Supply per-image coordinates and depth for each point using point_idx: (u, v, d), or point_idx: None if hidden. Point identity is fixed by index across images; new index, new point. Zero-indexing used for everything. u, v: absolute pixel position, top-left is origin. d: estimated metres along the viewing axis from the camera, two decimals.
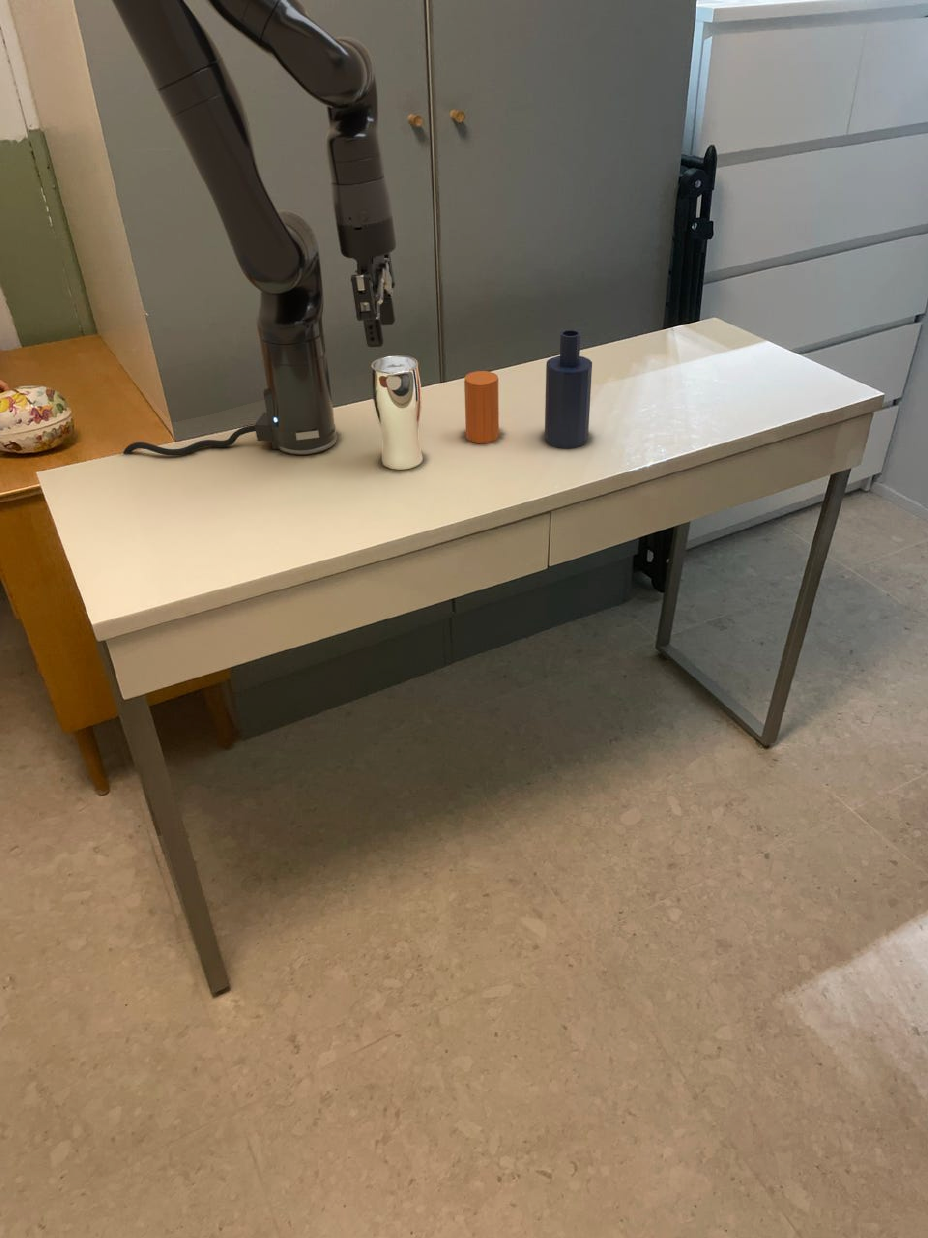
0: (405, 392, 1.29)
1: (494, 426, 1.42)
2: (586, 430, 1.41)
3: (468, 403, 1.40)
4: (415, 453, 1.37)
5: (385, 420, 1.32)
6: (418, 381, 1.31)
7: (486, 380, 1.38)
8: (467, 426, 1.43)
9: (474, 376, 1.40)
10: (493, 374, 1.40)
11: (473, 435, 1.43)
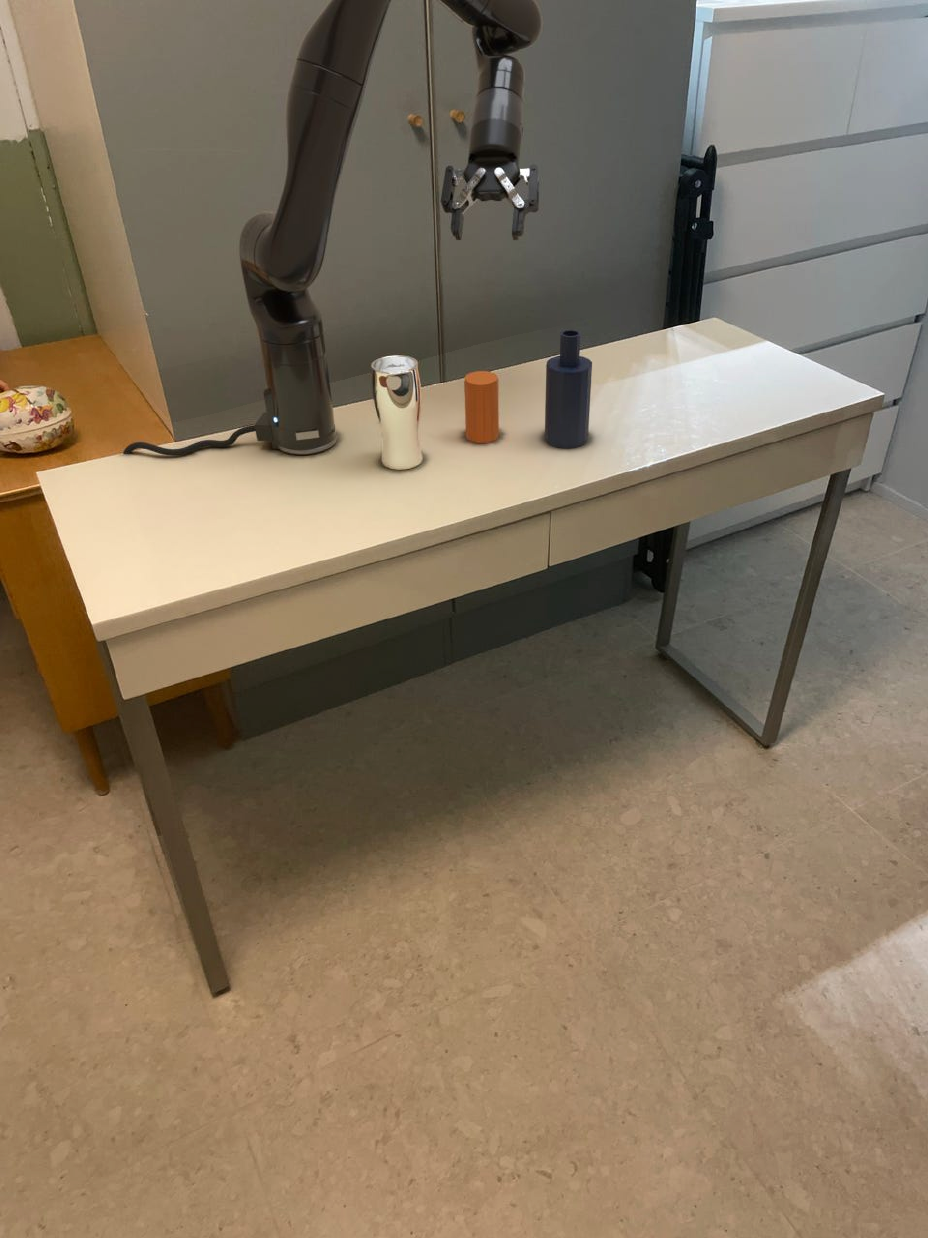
0: (405, 392, 1.29)
1: (494, 426, 1.42)
2: (586, 430, 1.41)
3: (468, 403, 1.40)
4: (415, 453, 1.37)
5: (385, 420, 1.32)
6: (418, 381, 1.31)
7: (486, 380, 1.38)
8: (467, 426, 1.43)
9: (474, 376, 1.40)
10: (493, 374, 1.40)
11: (473, 435, 1.43)
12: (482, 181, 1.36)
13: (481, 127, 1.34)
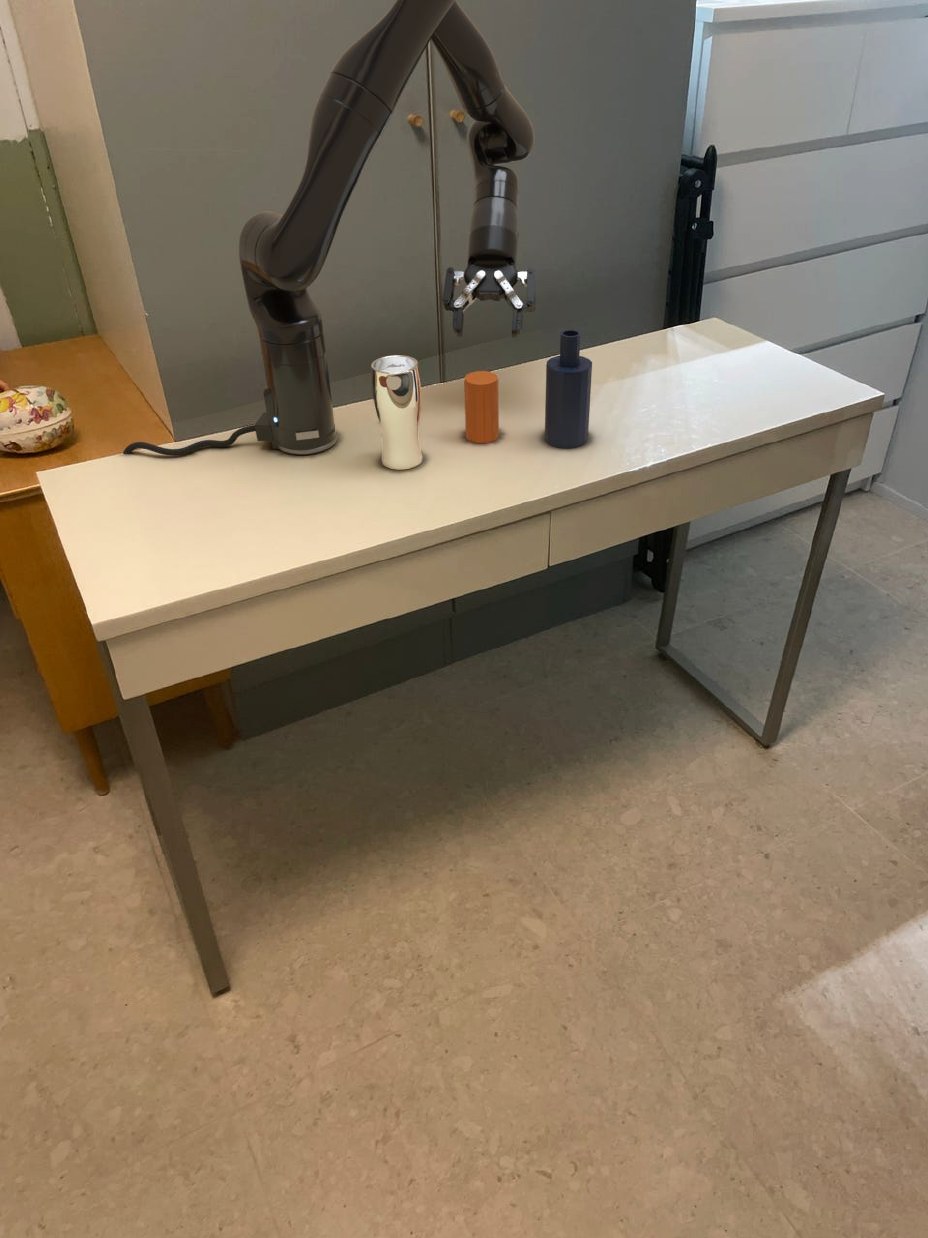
0: (405, 392, 1.29)
1: (494, 426, 1.42)
2: (586, 430, 1.41)
3: (468, 403, 1.40)
4: (415, 453, 1.37)
5: (385, 420, 1.32)
6: (418, 381, 1.31)
7: (486, 380, 1.38)
8: (467, 426, 1.43)
9: (474, 376, 1.40)
10: (493, 374, 1.40)
11: (473, 435, 1.43)
12: (482, 283, 1.44)
13: (481, 233, 1.42)
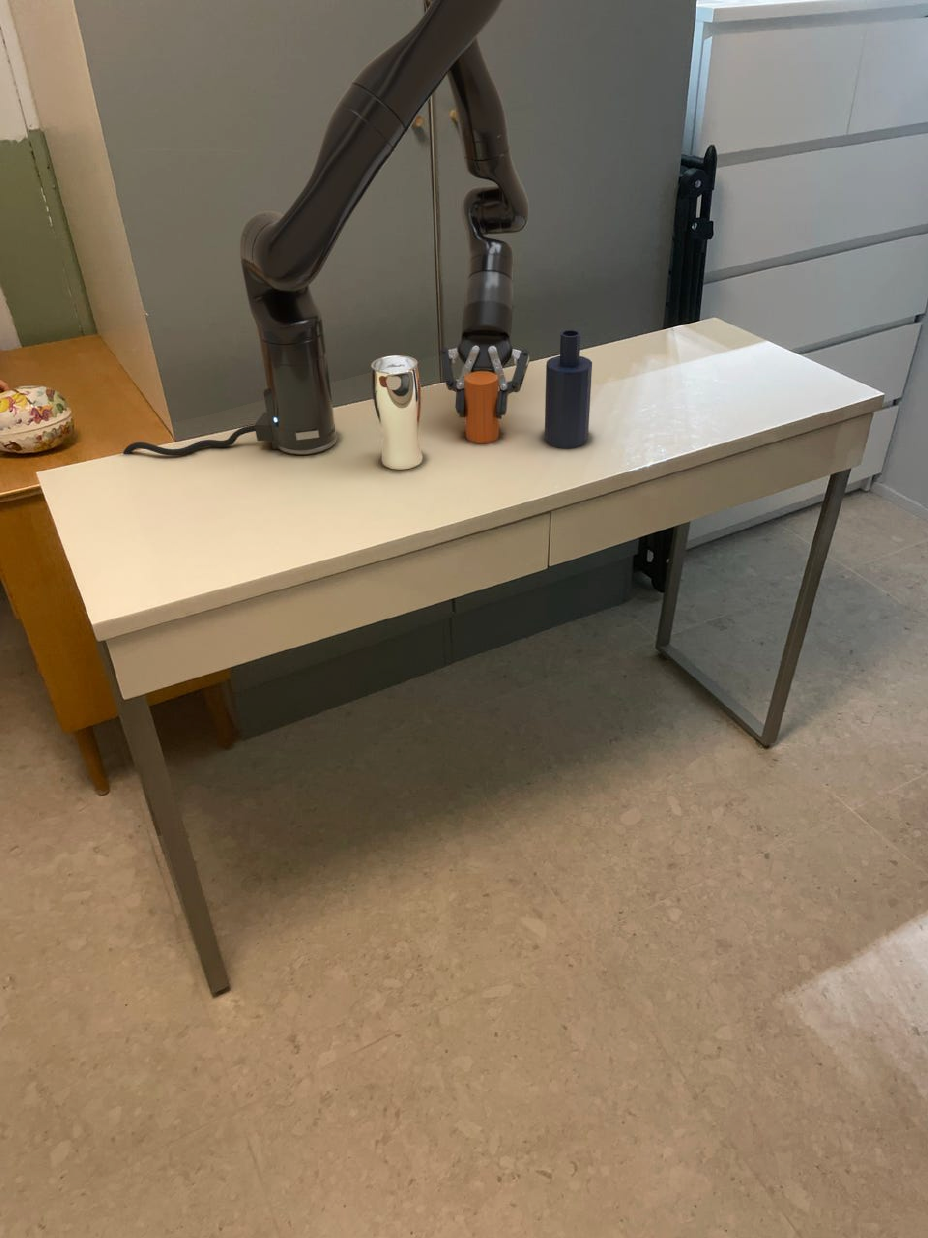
0: (405, 392, 1.29)
1: (494, 426, 1.42)
2: (586, 430, 1.41)
3: (468, 403, 1.40)
4: (415, 453, 1.37)
5: (385, 420, 1.32)
6: (418, 381, 1.31)
7: (486, 380, 1.38)
8: (467, 426, 1.43)
9: (474, 376, 1.40)
10: (493, 374, 1.40)
11: (473, 435, 1.43)
12: (476, 358, 1.41)
13: (475, 308, 1.40)
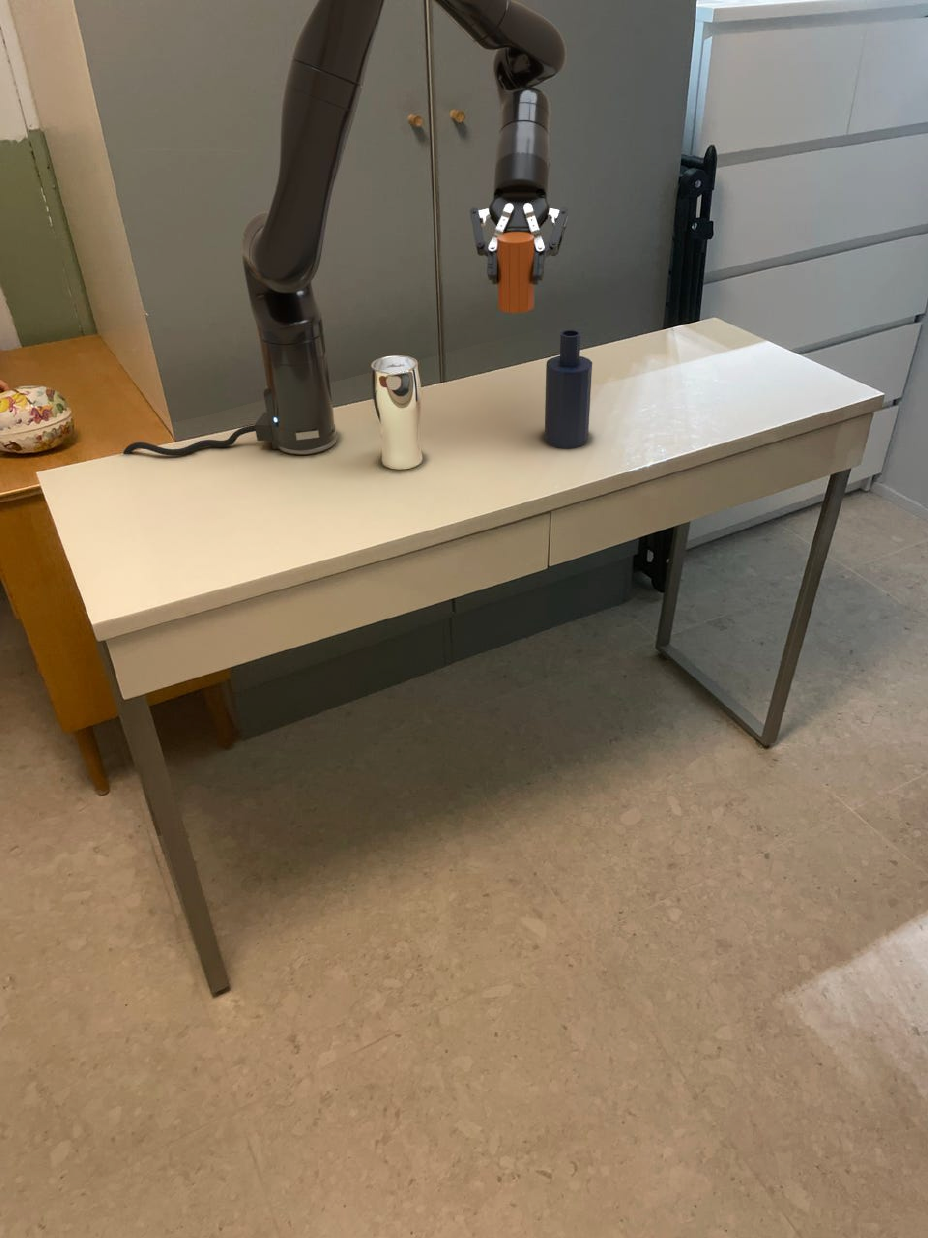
0: (405, 392, 1.29)
1: (529, 293, 1.29)
2: (586, 430, 1.41)
3: (501, 266, 1.27)
4: (415, 453, 1.37)
5: (385, 420, 1.32)
6: (418, 381, 1.31)
7: (521, 239, 1.25)
8: (500, 294, 1.30)
9: (508, 236, 1.27)
10: (529, 234, 1.27)
11: (506, 304, 1.30)
12: (510, 218, 1.28)
13: (509, 161, 1.27)
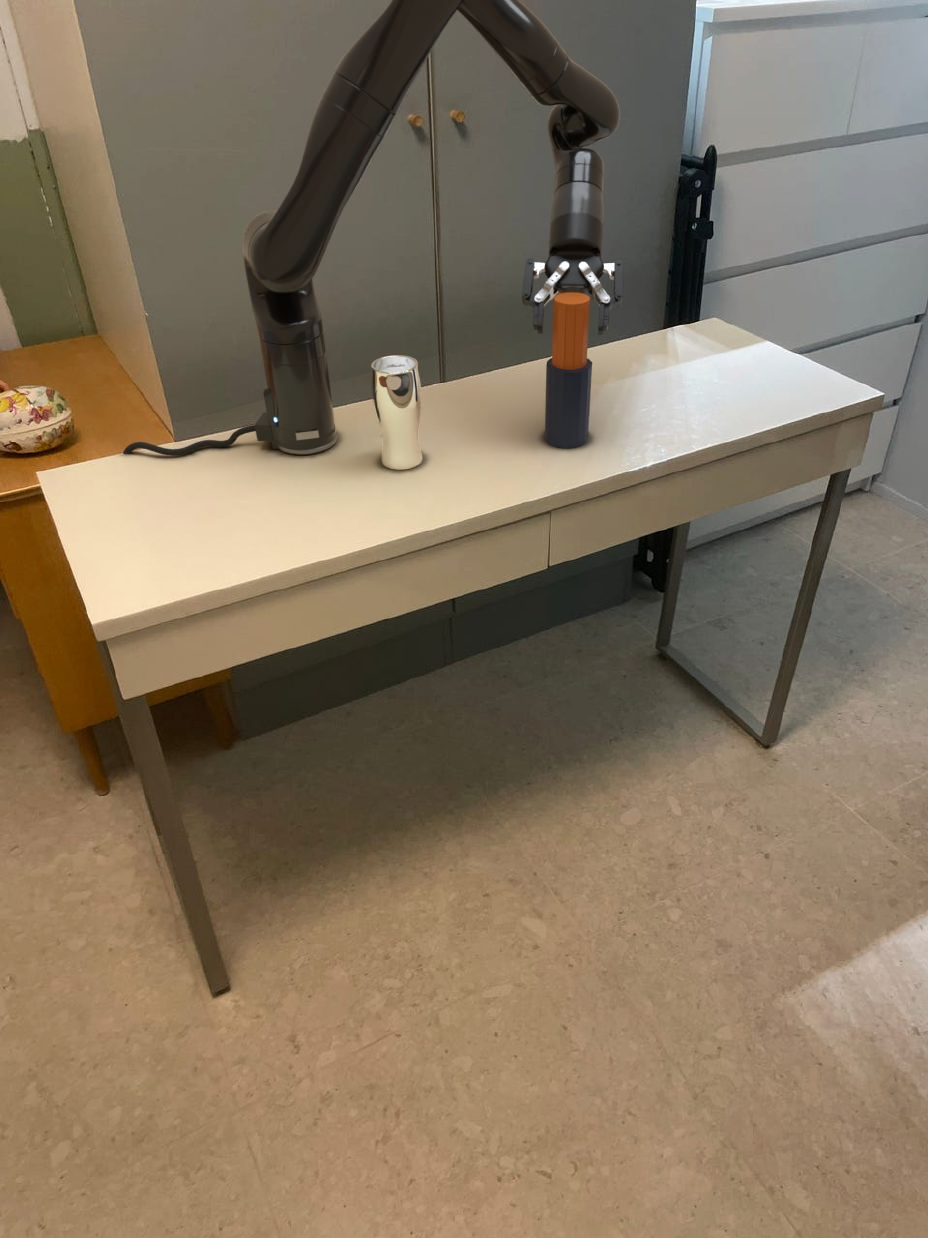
0: (405, 392, 1.29)
1: (584, 351, 1.33)
2: (586, 430, 1.41)
3: (557, 326, 1.31)
4: (415, 453, 1.37)
5: (385, 420, 1.32)
6: (418, 381, 1.31)
7: (578, 300, 1.29)
8: (554, 352, 1.34)
9: (564, 297, 1.31)
10: (584, 295, 1.31)
11: (561, 361, 1.34)
12: (565, 275, 1.32)
13: (565, 221, 1.31)
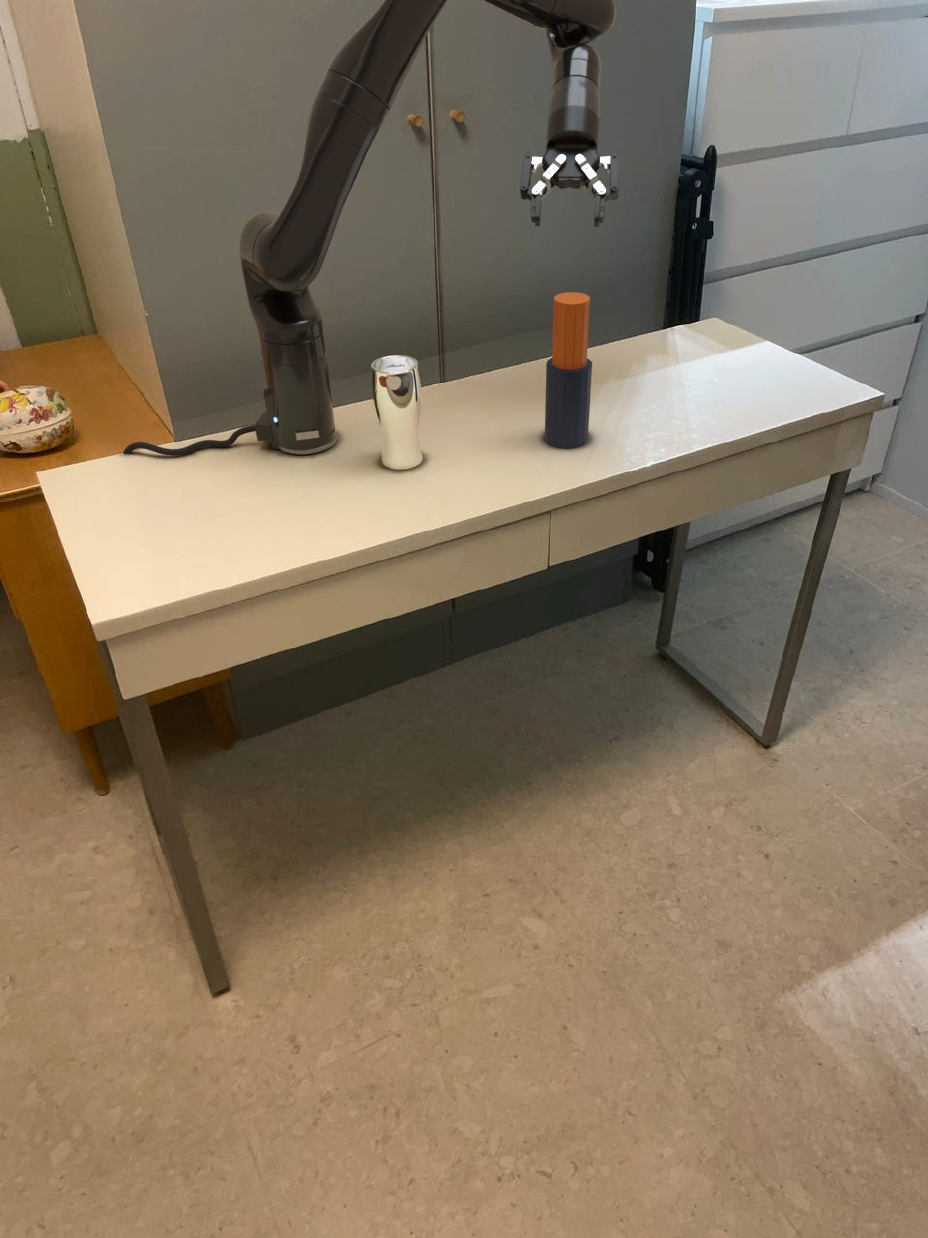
0: (405, 392, 1.29)
1: (584, 351, 1.33)
2: (586, 430, 1.41)
3: (557, 326, 1.31)
4: (415, 453, 1.37)
5: (385, 420, 1.32)
6: (418, 381, 1.31)
7: (578, 300, 1.29)
8: (554, 352, 1.34)
9: (564, 297, 1.31)
10: (584, 295, 1.31)
11: (561, 361, 1.34)
12: (562, 168, 1.35)
13: (562, 114, 1.34)
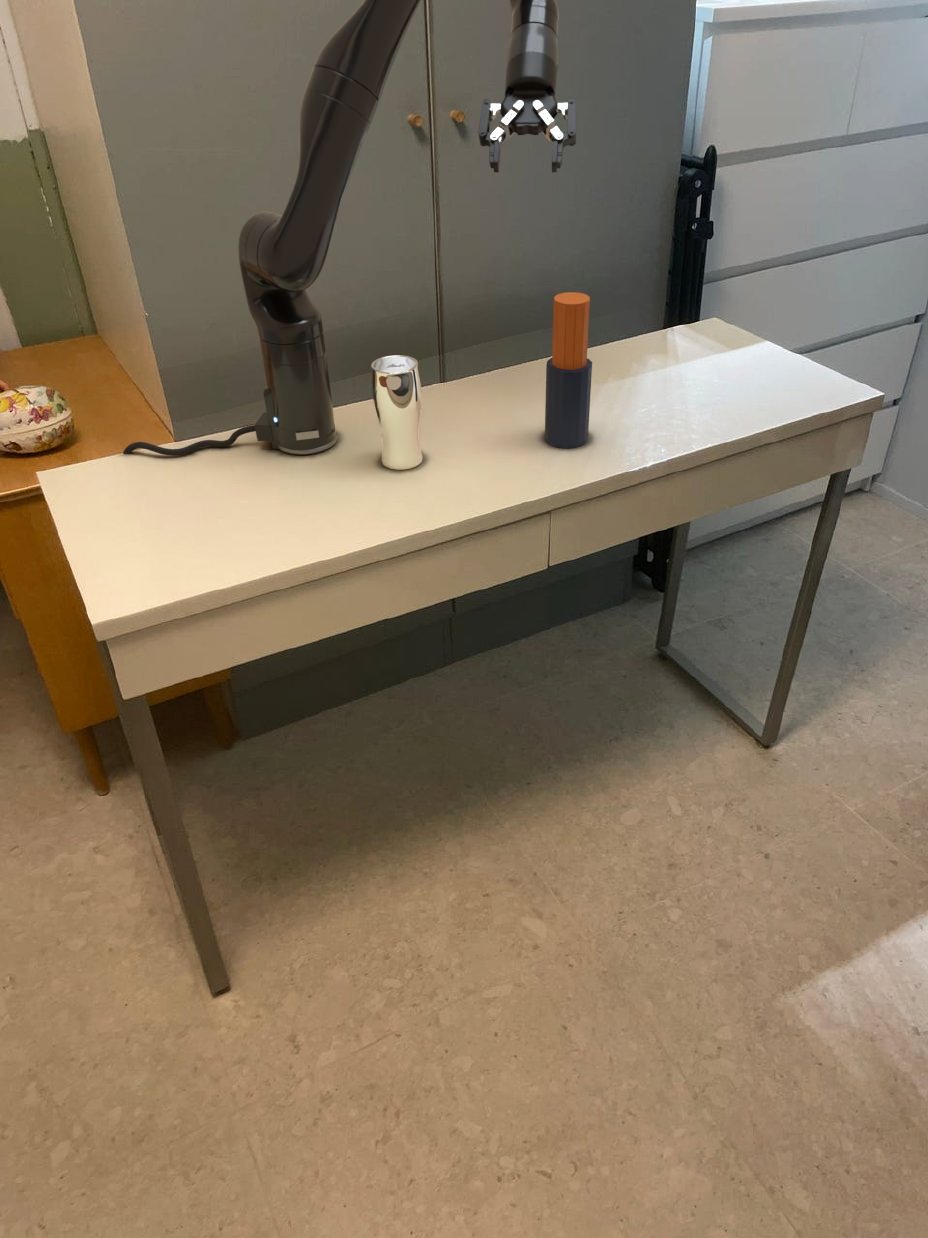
0: (405, 392, 1.29)
1: (584, 351, 1.33)
2: (586, 430, 1.41)
3: (557, 326, 1.31)
4: (415, 453, 1.37)
5: (385, 420, 1.32)
6: (418, 381, 1.31)
7: (578, 300, 1.29)
8: (554, 352, 1.34)
9: (564, 297, 1.31)
10: (584, 295, 1.31)
11: (561, 361, 1.34)
12: (520, 114, 1.36)
13: (519, 60, 1.35)
